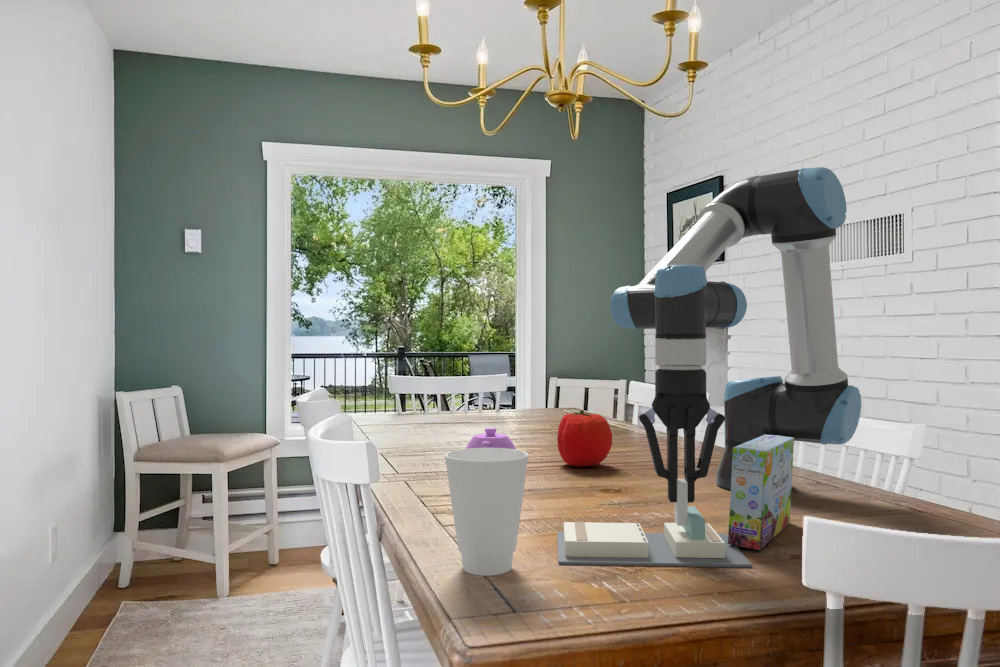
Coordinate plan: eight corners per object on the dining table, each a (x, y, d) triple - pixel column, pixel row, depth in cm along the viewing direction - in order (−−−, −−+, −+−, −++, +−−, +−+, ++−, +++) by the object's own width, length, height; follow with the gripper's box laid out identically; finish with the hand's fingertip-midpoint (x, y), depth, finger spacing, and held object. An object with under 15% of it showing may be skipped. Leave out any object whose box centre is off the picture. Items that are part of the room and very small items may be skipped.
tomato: (564, 459, 194) (564, 406, 194) (617, 462, 189) (617, 408, 189) (547, 470, 179) (547, 413, 179) (604, 473, 174) (604, 414, 174)
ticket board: (725, 536, 121) (725, 519, 121) (752, 567, 105) (751, 548, 105) (557, 534, 123) (557, 517, 123) (558, 564, 107) (558, 545, 107)
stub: (708, 537, 119) (708, 504, 119) (725, 558, 108) (724, 521, 108) (664, 536, 119) (663, 503, 119) (675, 557, 108) (675, 521, 108)
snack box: (764, 552, 111) (767, 450, 111) (726, 545, 114) (728, 446, 114) (793, 523, 129) (795, 435, 129) (759, 518, 132) (761, 432, 132)
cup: (462, 586, 98) (462, 463, 98) (433, 561, 108) (433, 450, 108) (544, 574, 102) (543, 457, 102) (508, 551, 113) (507, 445, 113)
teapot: (525, 466, 186) (524, 423, 185) (515, 482, 166) (515, 434, 166) (470, 465, 187) (470, 422, 187) (453, 480, 168) (453, 433, 168)
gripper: (718, 366, 117) (719, 517, 117) (634, 366, 118) (635, 516, 118) (730, 368, 109) (730, 530, 109) (639, 368, 110) (640, 529, 110)
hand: (681, 523), depth 114 cm, fingers closed
